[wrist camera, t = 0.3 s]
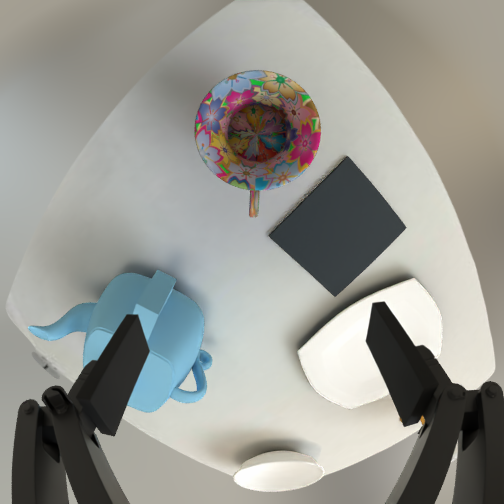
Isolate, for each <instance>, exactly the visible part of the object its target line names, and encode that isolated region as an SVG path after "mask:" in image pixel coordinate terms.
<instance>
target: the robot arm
mask: <svg viewBox="0 0 504 504" xmlns="http://www.w3.org/2000/svg"><path fill="white" fill-rule="evenodd" d="M366 343H367V345H368V348H369V350H370V352H371V354H372V356H373V358H374V360H375V362H376V364H377V367H378V369H379V371H380V373H381V375H382V377H383V380H384V382H385V384H386V386H387V388H388V391H389V393H390V395H391V397H392V400H393V402H394V404H395V407H396V409H397V411H398V414H399V416H400V418H401V421H402V423H403V426H404V427H406V426H409V425H412V424H416V423H418V422H419V420H420V419H421V417H422V415H423V417H424V419H425V422H424V424H423V426H422V427H421V429H420V430H419V432H418V434H419V436H418V439H417V441H416V444H415V446H414V448H413V450H412V453H411V455H410V457H409V459H408V461H407V463H406V465H405V467H404V470H403V472H402V473H401V475H400V478H399V479H398V482H397V483H396V485H395V487H394V489H393V490H392V492H391V494H390V496H389V497H388V499H387V501H386V503H385V504H435V501H436V499H437V497H438V495H439V492H440V490H441V487H442V485H443V482H444V480H445V477H446V474H447V472H448V468H449V466H450V463H451V460H452V457H453V454H454V451H455V447H456V444H457V440H458V454H457V470H456V479H455V480H456V481H455V488H454V495H453V502H452V504H504V397H503V391H502V389H501V387H500V386H499V385H498V384H497V383H495V382H491V381H489V382H485V383H484V384H483V385H482V387H481V389H480V390H466V389H465V388H464V387H463V386H461V385H459V384H455V383H452V382H451V380H450V379H449V377H448V376H447V374H446V373H445V371H444V370H443V368H442V366H441V365H440V364H439V362H438V361H437V359H436V358H435V356H434V355H433V353H432V352H431V350H430V349H428V348H427V347H425V346H424V345H419V346H415V345H414V343H413V342H412V340H411V339H410V337H409V336H408V334H407V333H406V331H405V330H404V328H403V327H402V325H401V324H400V323H399V321H398V320H397V318H396V317H395V315H394V314H393V313H392V311H391V310H390V308H389V307H388V306H387V304H386V303H385V301H383V302H374V303H372V308H371V314H370V320H369V325H368V331H367V336H366ZM149 352H150V350H149V347H148V344H147V341H146V338H145V335H144V331H143V328H142V325H141V322H140V319H139V315H138V314H127V315H126V316H125V318H124V319H123V321H122V322H121V324H120V325H119V327H118V328H117V330H116V331H115V333H114V334H113V336H112V338H111V339H110V341H109V342H108V344H107V345H106V347H105V349H104V350H103V352H102V353H101V355H100V357H99V358H98V360H91V361H90V362H89V363H88V364H87V365H85V367H84V369H83V370H82V372H81V374H80V375H79V377H78V379H77V380H76V382H75V383H74V385H73V386H72V388H71V390H70V392H69V393H68V395H67V393H66V392H65V391H64V389H63V388H62V387H61V386H52V387H50V388H48V389H47V390H45V392H44V393H43V395H42V401H43V402H44V404H45V405H46V406H44V407H40V406H39V404H38V403H37V402H36V401H35V400H31V399H30V400H26V401H25V402H23V403H22V404H21V405H20V408H19V411H18V418H17V423H16V431H15V439H14V449H13V462H12V504H69V500H68V492H67V484H66V473H67V475H68V479H69V482H70V484H71V487H72V490H73V492H74V495H75V497H76V500H77V502H78V504H130V503H129V501H128V500H127V498H126V496H125V494H124V493H123V491H122V489H121V487H120V485H119V483H118V481H117V479H116V477H115V476H114V473H113V471H112V469H111V467H110V465H109V463H108V461H107V459H106V457H105V455H104V452H103V450H102V448H101V445H100V443H99V441H98V438H97V436H96V434H95V433H94V431H95V428H96V427H97V428H98V430H99V431H100V432H101V433H102V434H106V435H111V436H115V434H116V431H117V429H118V426H119V424H120V421H121V419H122V416H123V414H124V411H125V409H126V406H127V404H128V401H129V399H130V397H131V394H132V392H133V389H134V387H135V385H136V382H137V380H138V378H139V375H140V373H141V371H142V368H143V366H144V364H145V361H146V359H147V357H148V355H149ZM65 470H66V472H65Z"/></svg>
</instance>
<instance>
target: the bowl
mask: <svg viewBox="0 0 504 504" xmlns="http://www.w3.org/2000/svg"><path fill="white" fill-rule="evenodd" d="M324 472H325V470H324V468H323V467H322V466H321V465H319V464H317V462H316V460H315V459H314V458H313V457H310V456H308V455H304V454H301V453H297V452H293V451H272V452H267V453H263V454H260V455H258V456H256V457H254V458H251V459H249V460H247V461H245V462H244V463H243V464H242V465H241V467H240V469H239V470H238V471H237V472H236V473H235V474H234V475H233V479H234V481H235V483H237V484H238V485H240V486H242V487H244V488H247V489H251V490H256V491H265V492H278V491H288V490H294V489H298V488H302V487H305V486H308V485H311V484H313V483H315V482H316V481H318V480H319V479H321V478H322V476H323V475H324Z"/></svg>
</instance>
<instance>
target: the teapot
mask: <svg viewBox="0 0 504 504" xmlns="http://www.w3.org/2000/svg"><path fill="white" fill-rule="evenodd" d="M176 280H177V279H175V278H173V277H171V276H169V275H167V274H165V273H163V272H162V271H160V270H157V271H156V273H155V274H154V276H153V277H152V279H151V278H148V277H146V276H143V275H140V274H136V273H123V274H120V275H118V276H116V277H115V278H114V279H113V280H112V281H111V282H110V283H109V284H108V286H107V287H106V289H105V290H104V292H103V293H102V295H101V297H100V298H99V300H98V302H97V303H91V302H90V303H82V304H79V305H77V306H75V307H73V308H72V309H71V310H69V311H68V312H67V313H66V314H65V315H64V316H63V317H62V318H61V319H59V320H58V321H57V322H55V323H54V324H51V325H49V326H44V327H42V326H29V327H28V329H29V330H30V332H31V333H33V334H34V335H35V336H37V337H39V338H41V339H44V340H48V341H53V340H58V339H61V338H63V337H64V336H66V335H68V334H69V333H72V332H76V331H81V332H86V338H85V344H84V352H83V367H85V365H87V364H88V363H89V362H90V361H91V360H98V358H99V357H100V355H101V353H102V352H103V350H104V349H105V347H106V345H107V344H108V342H109V341H110V339H111V338H112V336H113V334H114V333H115V331H116V330H117V328H118V327H119V325H120V324H121V322H122V321H123V319H124V318H125V316H126V315H127V314H138V315H139V319H140V322H141V325H142V328H143V331H144V335H145V338H146V341H147V344H148V347H149V350H150V352H149V355H148V357H147V359H146V361H145V364H144V366H143V368H142V371H141V373H140V375H139V378H138V380H137V382H136V385H135V387H134V389H133V392H132V394H131V397H130V399H129V401H128V404H127V406H130V407H132V408H135V409H137V410H140V411H143V412H154V411H156V410H157V409H159V408H160V407H161V406H162V405H163V404H164V403H165V402H166V401H167V400H168V399H169V397H171V398H172V399H174V400H176V401H179V402H182V403H193V402H196V401H199V400H200V399H201V398H202V397H203V396H204V395H205V393H206V390H207V381H206V377H205V374H204V371H203V370H207V369H209V368H210V367H211V365H212V357H211V355H210V354H209V353H207V352H206V351H204V350H200V346H201V343H202V339H203V333H204V316H203V314H202V311H201V309H200V308H199V306H198V305H197V304H196V303H195V302H194V301H193V300H192V299H190V298H189V297H187V296H185V295H184V294H182V293H180V292H178V291H176V290H174V289H173V287H174V285H175V282H176ZM200 361H201V362H200ZM202 362H203V363H202ZM191 368H192V371H193V374H194V377H195V380H196V384H197V391H194V392H189V391H184V390H182V389H179V388H178V387H179V386H180V385H181V384H182V382H183V381H184V380H185V378H186V377H187V375H188V373H189V372H190V370H191Z"/></svg>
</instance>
